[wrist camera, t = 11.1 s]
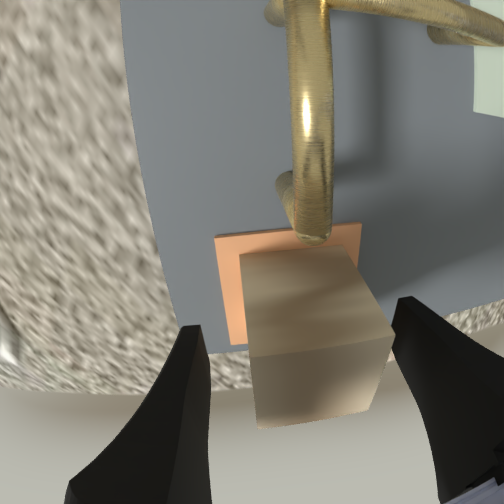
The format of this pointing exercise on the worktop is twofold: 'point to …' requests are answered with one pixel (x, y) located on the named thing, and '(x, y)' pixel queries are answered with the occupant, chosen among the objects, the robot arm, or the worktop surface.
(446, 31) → the brass corner pipe rail
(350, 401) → the block
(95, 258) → the worktop surface
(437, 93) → the board
